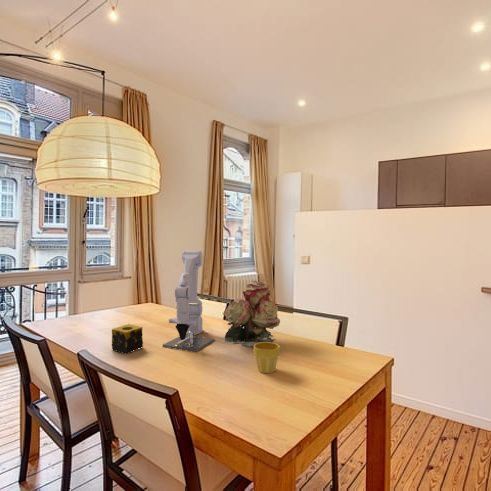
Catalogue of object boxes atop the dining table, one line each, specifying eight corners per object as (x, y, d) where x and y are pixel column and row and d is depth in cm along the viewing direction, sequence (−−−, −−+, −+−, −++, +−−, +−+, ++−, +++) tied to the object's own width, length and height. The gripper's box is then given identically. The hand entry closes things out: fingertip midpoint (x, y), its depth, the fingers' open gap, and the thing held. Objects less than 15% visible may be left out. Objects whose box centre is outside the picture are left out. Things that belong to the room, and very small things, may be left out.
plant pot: (263, 363, 148) (263, 339, 147) (284, 369, 141) (284, 345, 141) (248, 370, 140) (248, 346, 139) (269, 377, 133) (269, 352, 133)
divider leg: (188, 336, 178) (188, 330, 178) (194, 336, 179) (194, 330, 179) (188, 345, 165) (188, 339, 164) (194, 344, 165) (194, 339, 165)
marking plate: (183, 336, 184) (183, 332, 183) (214, 340, 177) (214, 336, 176) (162, 346, 167) (162, 342, 167) (195, 352, 160) (195, 347, 160)
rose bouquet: (217, 344, 171) (217, 282, 170) (245, 329, 197) (245, 275, 196) (266, 353, 160) (266, 287, 158) (288, 336, 186) (289, 279, 184)
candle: (128, 344, 171) (128, 323, 170) (143, 347, 166) (143, 326, 165) (111, 350, 162) (110, 328, 162) (126, 354, 157) (126, 332, 156)
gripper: (165, 311, 167) (165, 339, 168) (191, 314, 162) (191, 343, 163) (173, 308, 174) (173, 335, 175) (199, 311, 168) (199, 339, 169)
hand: (182, 339), depth 169 cm, fingers closed
